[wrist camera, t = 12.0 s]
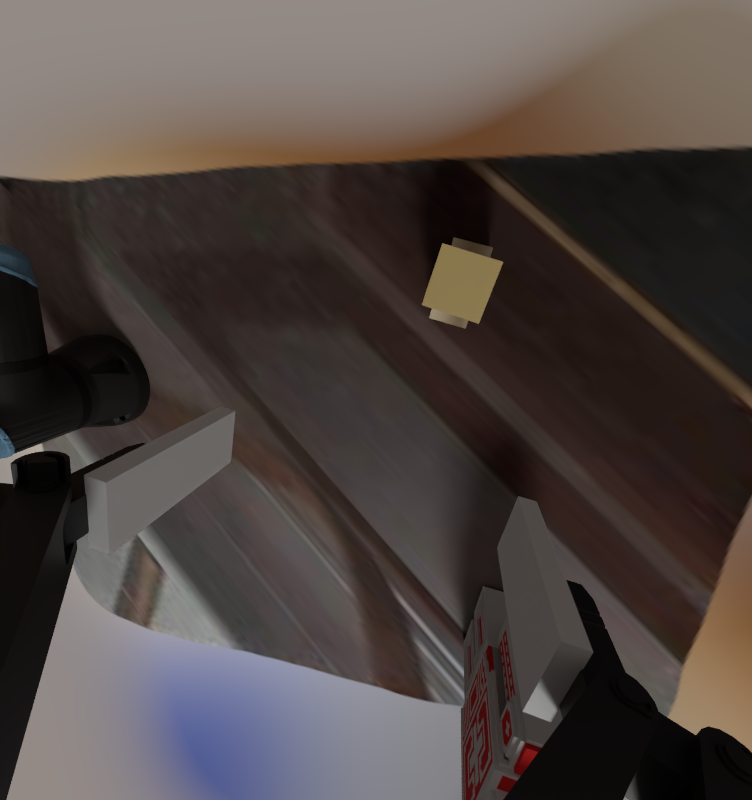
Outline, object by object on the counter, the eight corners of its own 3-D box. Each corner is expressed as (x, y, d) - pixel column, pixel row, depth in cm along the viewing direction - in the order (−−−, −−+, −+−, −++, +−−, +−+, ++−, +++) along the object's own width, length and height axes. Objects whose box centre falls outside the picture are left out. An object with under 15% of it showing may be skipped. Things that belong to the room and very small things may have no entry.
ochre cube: (426, 302, 42) (421, 304, 36) (444, 249, 40) (442, 243, 34) (475, 318, 41) (478, 323, 36) (496, 265, 39) (503, 261, 34)
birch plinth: (431, 315, 47) (429, 317, 43) (454, 242, 44) (453, 237, 39) (464, 324, 47) (465, 328, 42) (489, 252, 44) (493, 247, 39)
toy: (487, 559, 56) (519, 831, 28) (537, 573, 55) (622, 871, 27) (454, 659, 63) (452, 955, 35) (497, 674, 62) (531, 991, 34)
